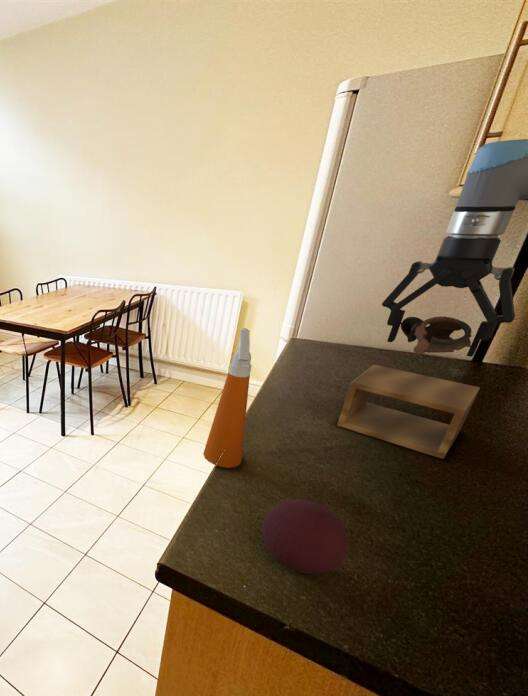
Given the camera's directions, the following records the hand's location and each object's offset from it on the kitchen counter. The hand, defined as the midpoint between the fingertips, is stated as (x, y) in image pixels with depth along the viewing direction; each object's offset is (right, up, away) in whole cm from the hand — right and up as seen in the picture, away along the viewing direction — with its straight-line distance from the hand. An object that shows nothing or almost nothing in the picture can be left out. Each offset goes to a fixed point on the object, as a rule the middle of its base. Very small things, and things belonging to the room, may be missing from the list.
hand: (428, 347), depth 85 cm
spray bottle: (-42, -22, +1) cm, 48 cm away
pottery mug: (0, -1, 0) cm, 1 cm away
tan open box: (+1, -18, +8) cm, 19 cm away
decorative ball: (-45, -34, -25) cm, 61 cm away
